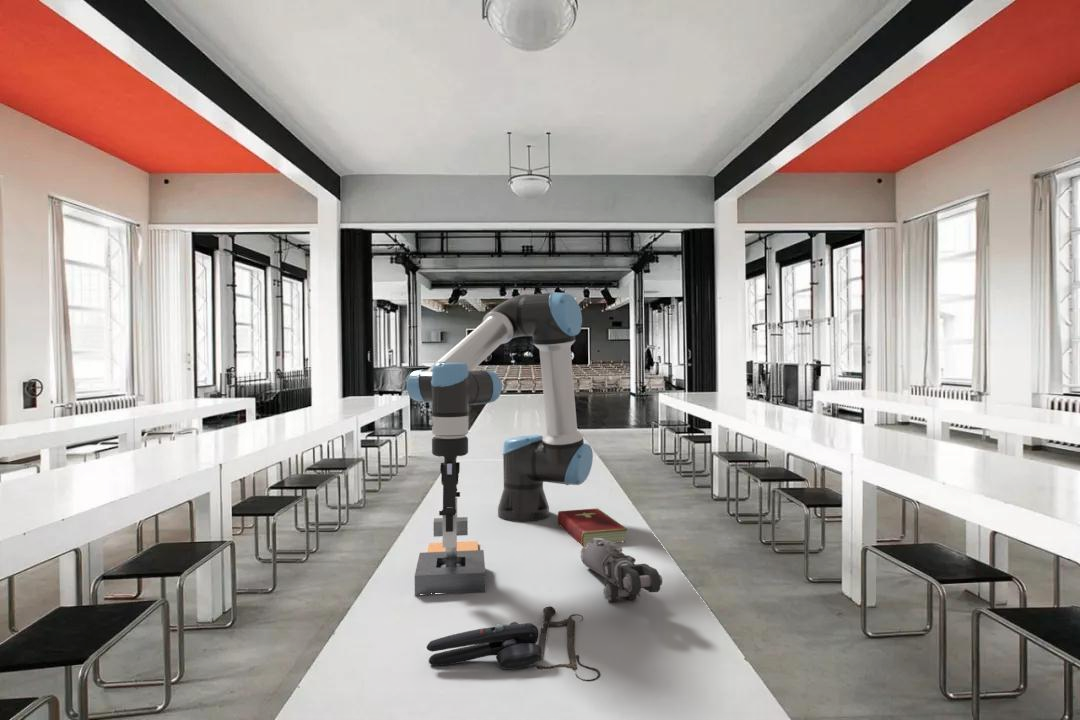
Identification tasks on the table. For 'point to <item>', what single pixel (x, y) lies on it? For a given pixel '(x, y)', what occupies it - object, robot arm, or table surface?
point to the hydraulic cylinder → (619, 570)
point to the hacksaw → (571, 652)
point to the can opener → (490, 646)
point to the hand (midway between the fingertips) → (450, 536)
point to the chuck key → (460, 530)
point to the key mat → (460, 546)
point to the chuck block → (450, 573)
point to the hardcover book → (591, 525)
